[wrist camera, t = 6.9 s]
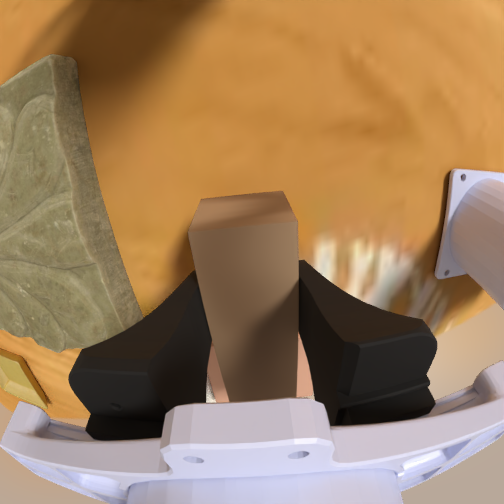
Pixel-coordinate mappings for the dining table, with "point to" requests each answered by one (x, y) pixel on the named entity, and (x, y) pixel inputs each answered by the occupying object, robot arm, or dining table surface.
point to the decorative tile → (55, 218)
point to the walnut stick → (250, 291)
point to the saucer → (20, 379)
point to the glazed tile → (302, 375)
